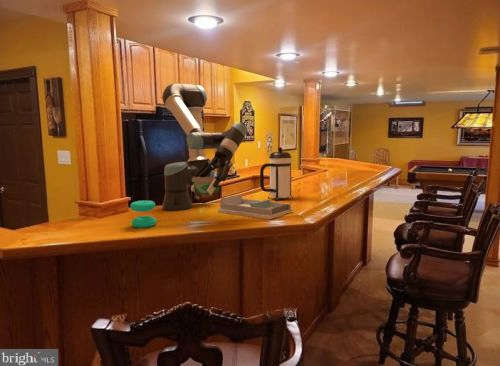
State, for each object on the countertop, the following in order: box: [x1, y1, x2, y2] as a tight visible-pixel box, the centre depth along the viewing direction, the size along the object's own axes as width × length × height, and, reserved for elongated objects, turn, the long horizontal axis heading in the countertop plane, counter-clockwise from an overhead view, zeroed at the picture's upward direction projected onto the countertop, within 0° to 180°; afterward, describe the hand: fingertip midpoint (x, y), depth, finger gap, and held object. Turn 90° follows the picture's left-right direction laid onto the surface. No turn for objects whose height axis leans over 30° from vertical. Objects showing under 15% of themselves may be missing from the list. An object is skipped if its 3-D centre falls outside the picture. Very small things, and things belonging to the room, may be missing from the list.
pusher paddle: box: [250, 198, 271, 208], centre depth 178 cm, size 6×14×4 cm, turn 142°
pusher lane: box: [217, 193, 294, 220], centre depth 178 cm, size 30×20×6 cm, turn 52°
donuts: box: [129, 199, 157, 229], centre depth 154 cm, size 10×10×10 cm
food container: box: [192, 176, 220, 202], centre depth 156 cm, size 12×6×10 cm, turn 112°
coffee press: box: [259, 146, 294, 202], centre depth 211 cm, size 17×16×30 cm
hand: (200, 191), depth 154 cm, fingers closed on food container, 8 cm apart
